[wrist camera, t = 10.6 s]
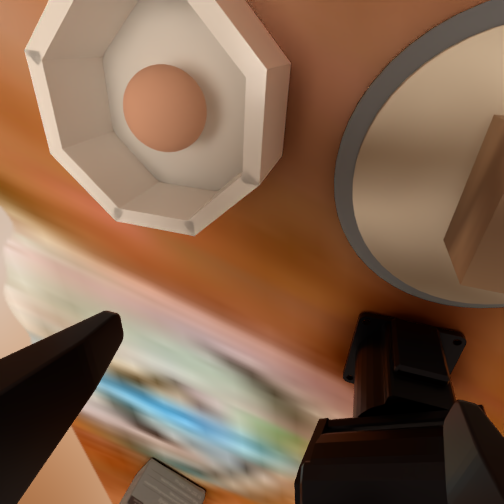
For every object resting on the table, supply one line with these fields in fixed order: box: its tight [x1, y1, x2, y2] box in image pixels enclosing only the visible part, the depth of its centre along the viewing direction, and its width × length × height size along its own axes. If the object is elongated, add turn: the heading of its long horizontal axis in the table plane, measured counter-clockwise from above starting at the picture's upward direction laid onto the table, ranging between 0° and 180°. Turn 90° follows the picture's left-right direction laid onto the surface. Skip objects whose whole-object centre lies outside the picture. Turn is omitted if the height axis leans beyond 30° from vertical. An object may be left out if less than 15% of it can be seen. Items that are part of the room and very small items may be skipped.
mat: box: [334, 0, 504, 308], centre depth 17 cm, size 15×15×1 cm
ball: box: [123, 64, 207, 152], centre depth 17 cm, size 4×4×4 cm
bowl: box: [24, 0, 291, 236], centre depth 17 cm, size 11×11×5 cm
